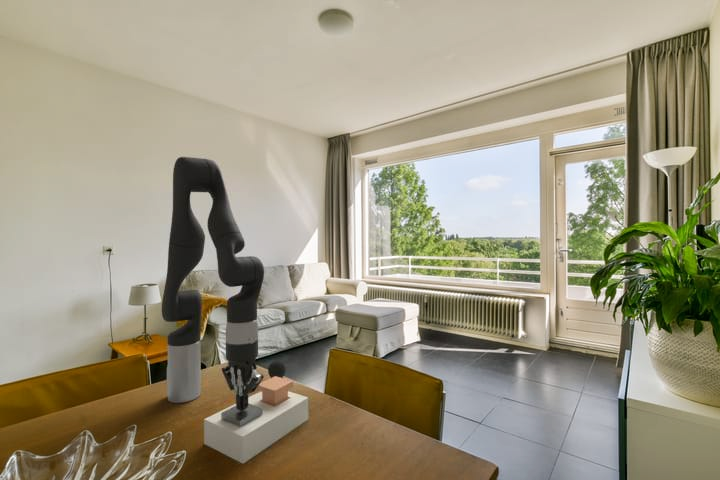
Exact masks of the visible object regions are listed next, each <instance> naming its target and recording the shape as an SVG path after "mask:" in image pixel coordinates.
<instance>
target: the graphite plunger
mask: <svg viewBox="0 0 720 480" xmlns="http://www.w3.org/2000/svg"><path fill="white" fill-rule="evenodd" d="M262 414H263V409H262V408H260V407H257V406H254V405H252V404H249V403H248V407H247V408H246V409H245V410H243V411H240V410H238V409H237V408H236V406H234V407H232V408H230V409H228V410H226V411H224V412H222V413H221V419H223V420H225V421H227V422H230V423H232V424H234V425H237V426H239V427H241V426H242V425H244V424H246V423H248V422H250V421H251V420H253V419H255V418H257V417H258V416H260V415H262Z"/></svg>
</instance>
